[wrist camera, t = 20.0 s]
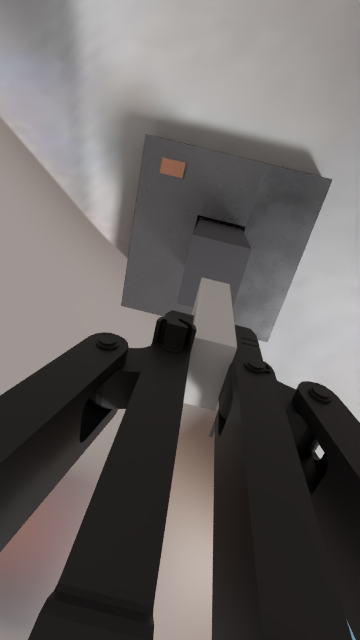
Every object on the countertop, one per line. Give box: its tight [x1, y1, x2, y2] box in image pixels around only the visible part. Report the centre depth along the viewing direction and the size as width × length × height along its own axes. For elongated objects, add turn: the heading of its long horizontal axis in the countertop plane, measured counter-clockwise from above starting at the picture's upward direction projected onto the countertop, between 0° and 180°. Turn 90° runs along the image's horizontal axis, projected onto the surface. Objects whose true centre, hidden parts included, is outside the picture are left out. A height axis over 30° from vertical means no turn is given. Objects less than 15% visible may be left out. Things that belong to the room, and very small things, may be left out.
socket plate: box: [121, 134, 332, 342], centre depth 30 cm, size 16×16×3 cm
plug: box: [177, 219, 252, 308], centre depth 26 cm, size 4×5×11 cm
